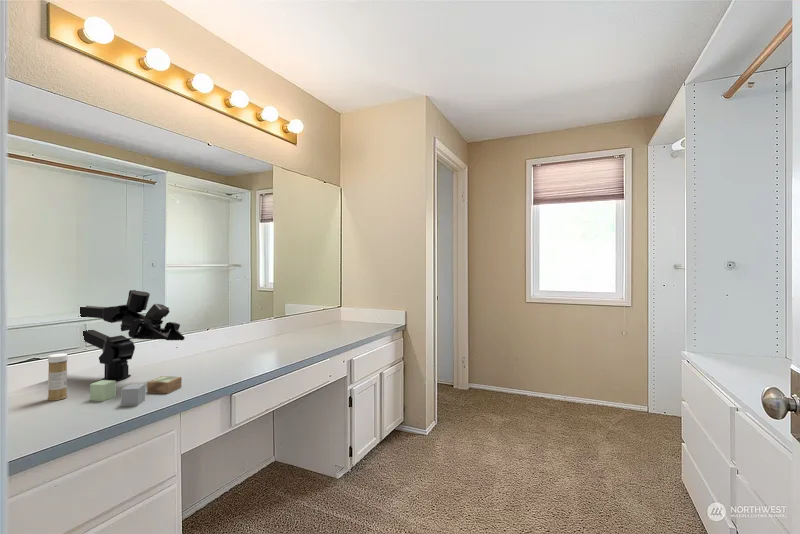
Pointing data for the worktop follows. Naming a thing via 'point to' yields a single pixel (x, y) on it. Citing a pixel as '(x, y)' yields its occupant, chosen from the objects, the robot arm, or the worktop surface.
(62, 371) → the sprinkles bottle
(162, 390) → the base block
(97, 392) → the sage block
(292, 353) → the worktop surface
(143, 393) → the slate block
